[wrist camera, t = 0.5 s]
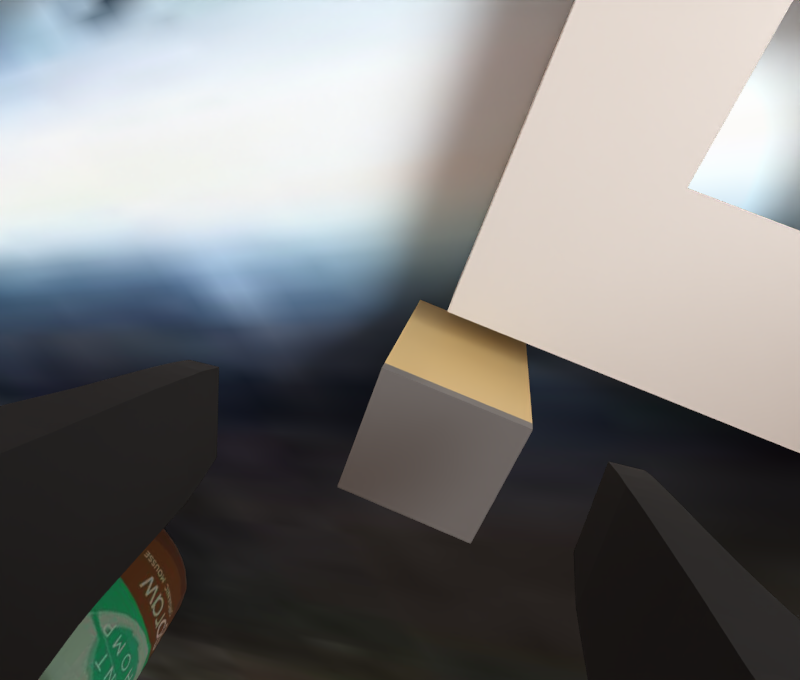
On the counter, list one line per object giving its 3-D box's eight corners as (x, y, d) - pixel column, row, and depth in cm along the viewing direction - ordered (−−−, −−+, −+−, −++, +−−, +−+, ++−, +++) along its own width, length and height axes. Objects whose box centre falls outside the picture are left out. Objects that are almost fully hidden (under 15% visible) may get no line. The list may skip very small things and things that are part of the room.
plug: (525, 341, 18) (532, 429, 13) (481, 431, 20) (470, 543, 14) (420, 299, 18) (382, 367, 13) (384, 391, 20) (337, 486, 14)
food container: (237, 652, 27) (99, 912, 18) (138, 646, 29) (-36, 883, 19) (163, 450, 23) (-63, 653, 14) (52, 455, 25) (-217, 641, 15)
